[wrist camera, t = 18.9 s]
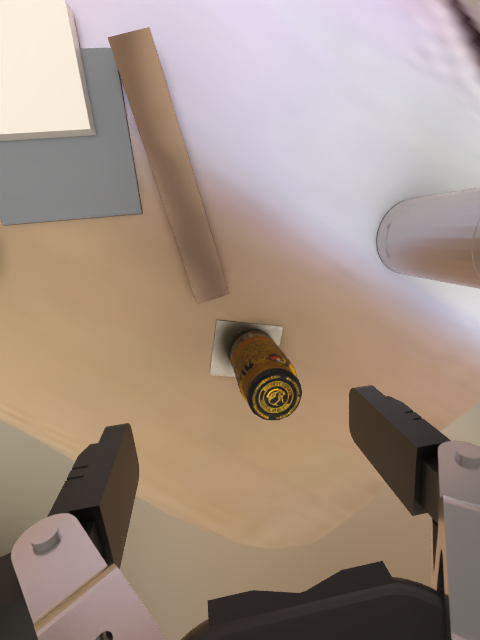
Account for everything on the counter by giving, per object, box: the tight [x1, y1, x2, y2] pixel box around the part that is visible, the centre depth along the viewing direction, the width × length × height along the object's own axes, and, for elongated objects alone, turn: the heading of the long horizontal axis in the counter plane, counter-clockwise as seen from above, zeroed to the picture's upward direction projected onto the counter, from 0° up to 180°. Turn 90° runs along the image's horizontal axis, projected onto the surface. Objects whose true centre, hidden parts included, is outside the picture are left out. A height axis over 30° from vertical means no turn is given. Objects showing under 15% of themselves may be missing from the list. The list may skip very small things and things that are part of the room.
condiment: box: [210, 320, 302, 420], centre depth 35 cm, size 7×8×12 cm
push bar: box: [108, 27, 229, 304], centre depth 33 cm, size 4×24×5 cm, turn 16°
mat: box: [0, 48, 142, 225], centre depth 32 cm, size 14×15×1 cm
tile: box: [0, 0, 96, 141], centre depth 29 cm, size 10×2×10 cm
